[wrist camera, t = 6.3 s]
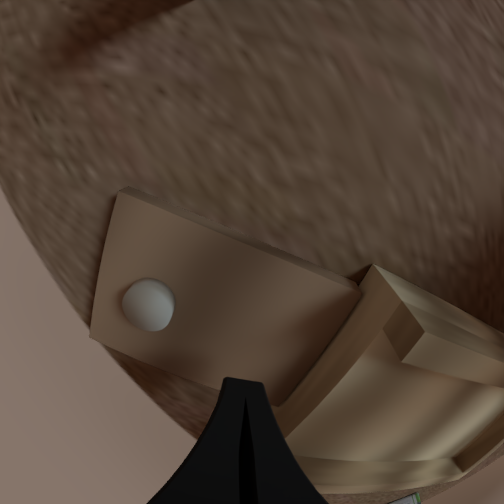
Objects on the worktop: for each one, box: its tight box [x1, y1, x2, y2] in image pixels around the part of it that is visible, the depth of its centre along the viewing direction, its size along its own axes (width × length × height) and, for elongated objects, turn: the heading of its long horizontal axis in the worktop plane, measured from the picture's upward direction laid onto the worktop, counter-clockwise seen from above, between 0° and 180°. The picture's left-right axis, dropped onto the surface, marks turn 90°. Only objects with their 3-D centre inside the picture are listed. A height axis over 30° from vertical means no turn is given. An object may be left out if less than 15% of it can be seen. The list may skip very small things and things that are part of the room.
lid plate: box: [89, 186, 362, 407], centre depth 12 cm, size 10×7×2 cm
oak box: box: [271, 264, 504, 494], centre depth 13 cm, size 18×11×5 cm, turn 66°
